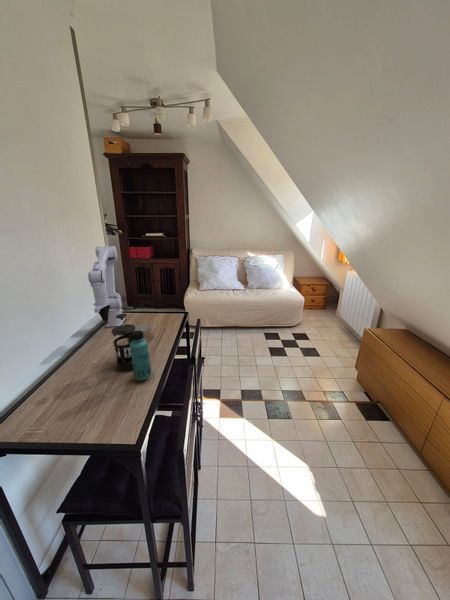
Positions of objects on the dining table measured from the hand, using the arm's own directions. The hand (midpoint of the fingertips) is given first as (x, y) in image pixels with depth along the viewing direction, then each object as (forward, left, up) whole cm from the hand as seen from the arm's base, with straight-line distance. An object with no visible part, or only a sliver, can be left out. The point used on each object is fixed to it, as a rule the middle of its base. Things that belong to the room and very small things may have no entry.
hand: (105, 320), depth 125 cm
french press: (+26, +18, -10) cm, 33 cm away
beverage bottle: (+36, +26, -10) cm, 45 cm away
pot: (+4, +18, -9) cm, 21 cm away
